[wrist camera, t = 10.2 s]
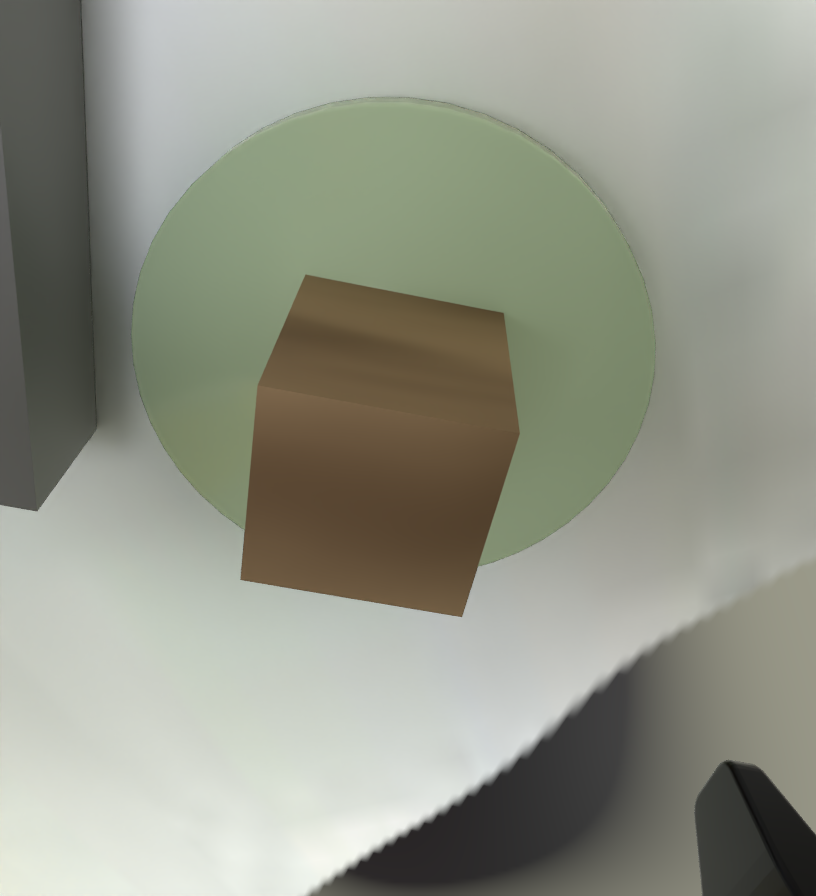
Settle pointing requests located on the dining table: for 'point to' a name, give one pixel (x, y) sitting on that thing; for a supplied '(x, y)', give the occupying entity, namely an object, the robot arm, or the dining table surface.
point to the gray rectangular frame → (43, 251)
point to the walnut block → (379, 447)
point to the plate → (399, 289)
